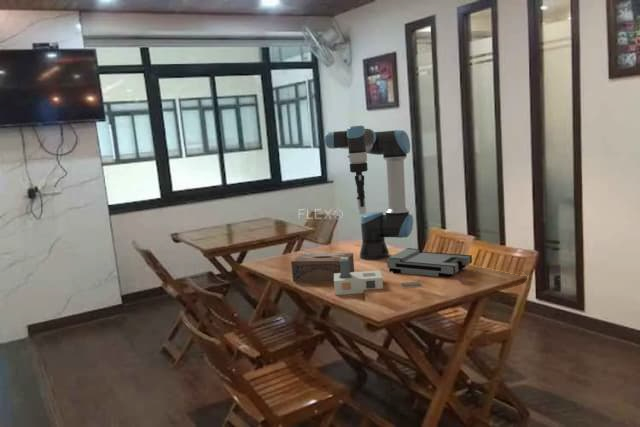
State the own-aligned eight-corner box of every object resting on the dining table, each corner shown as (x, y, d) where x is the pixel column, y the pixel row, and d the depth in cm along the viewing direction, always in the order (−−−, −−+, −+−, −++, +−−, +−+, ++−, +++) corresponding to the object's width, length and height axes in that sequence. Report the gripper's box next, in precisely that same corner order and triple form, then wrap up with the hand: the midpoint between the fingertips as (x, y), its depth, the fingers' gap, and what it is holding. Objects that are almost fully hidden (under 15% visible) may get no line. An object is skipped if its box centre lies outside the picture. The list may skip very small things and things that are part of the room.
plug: (350, 286, 238) (348, 256, 236) (351, 288, 234) (349, 258, 232) (341, 286, 238) (339, 257, 236) (341, 289, 234) (339, 259, 232)
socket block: (334, 286, 242) (333, 273, 242) (380, 283, 242) (379, 270, 241) (334, 295, 230) (333, 281, 229) (383, 291, 230) (382, 277, 229)
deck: (400, 286, 235) (400, 282, 235) (419, 284, 235) (419, 281, 235) (403, 291, 228) (402, 288, 227) (422, 290, 227) (422, 286, 227)
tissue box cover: (354, 273, 262) (353, 253, 261) (347, 282, 249) (345, 260, 247) (302, 273, 270) (301, 253, 268) (293, 282, 256) (291, 261, 255)
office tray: (454, 282, 236) (453, 263, 235) (387, 275, 255) (386, 258, 254) (472, 270, 252) (471, 252, 251) (408, 264, 271) (407, 248, 270)
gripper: (348, 160, 249) (352, 207, 253) (350, 165, 225) (354, 217, 229) (365, 159, 249) (369, 205, 253) (368, 164, 224) (372, 215, 228)
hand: (362, 211), depth 241 cm, fingers open, 13 cm apart
